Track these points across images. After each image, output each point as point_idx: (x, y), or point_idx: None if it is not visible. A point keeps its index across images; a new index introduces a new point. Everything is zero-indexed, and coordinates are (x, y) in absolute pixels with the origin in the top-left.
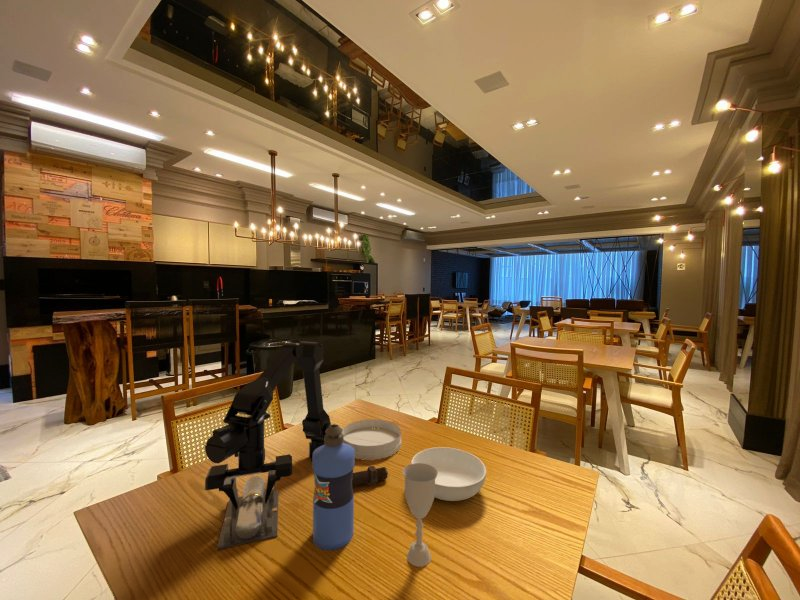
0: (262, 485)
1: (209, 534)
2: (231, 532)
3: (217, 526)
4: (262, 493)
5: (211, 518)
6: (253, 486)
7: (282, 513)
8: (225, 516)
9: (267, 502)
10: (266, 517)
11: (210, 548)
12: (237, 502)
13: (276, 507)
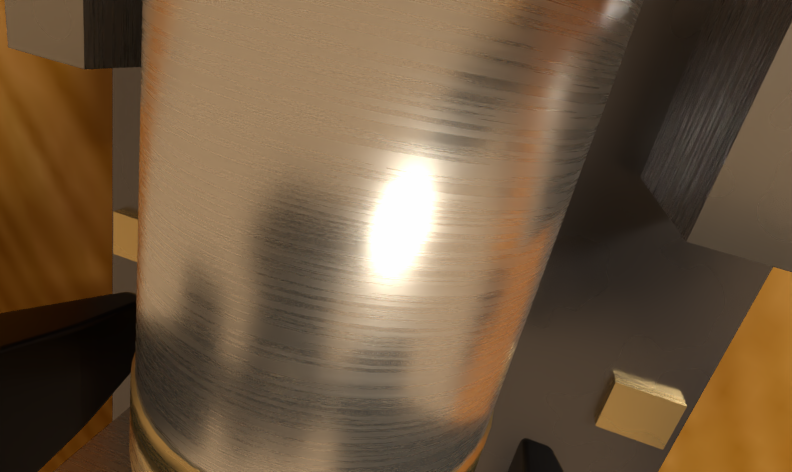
0: (579, 96)
1: (51, 290)
2: None
3: (89, 228)
4: (500, 361)
5: (15, 60)
6: (271, 264)
7: (713, 459)
8: (117, 164)
9: (615, 187)
10: (508, 459)
11: (88, 437)
12: (72, 403)
13: (684, 377)
